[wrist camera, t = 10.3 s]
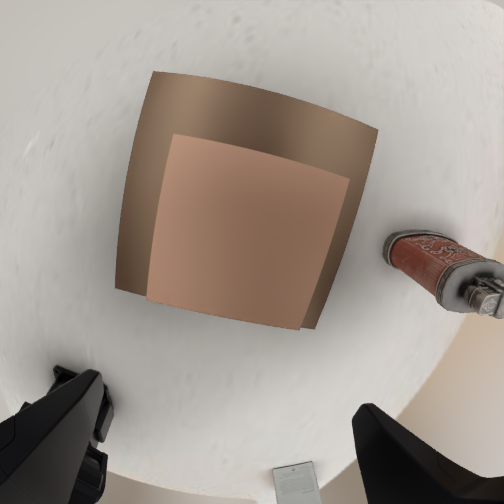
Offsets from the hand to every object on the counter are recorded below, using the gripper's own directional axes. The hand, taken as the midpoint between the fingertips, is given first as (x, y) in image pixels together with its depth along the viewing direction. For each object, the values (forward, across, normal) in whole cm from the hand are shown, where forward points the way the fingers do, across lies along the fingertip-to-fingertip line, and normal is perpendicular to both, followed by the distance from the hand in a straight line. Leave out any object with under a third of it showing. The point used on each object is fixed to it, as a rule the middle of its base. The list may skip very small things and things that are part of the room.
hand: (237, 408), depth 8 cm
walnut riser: (+12, +1, -5) cm, 13 cm away
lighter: (+12, -14, -5) cm, 19 cm away
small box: (+12, -14, +30) cm, 36 cm away
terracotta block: (+8, +1, -5) cm, 9 cm away
